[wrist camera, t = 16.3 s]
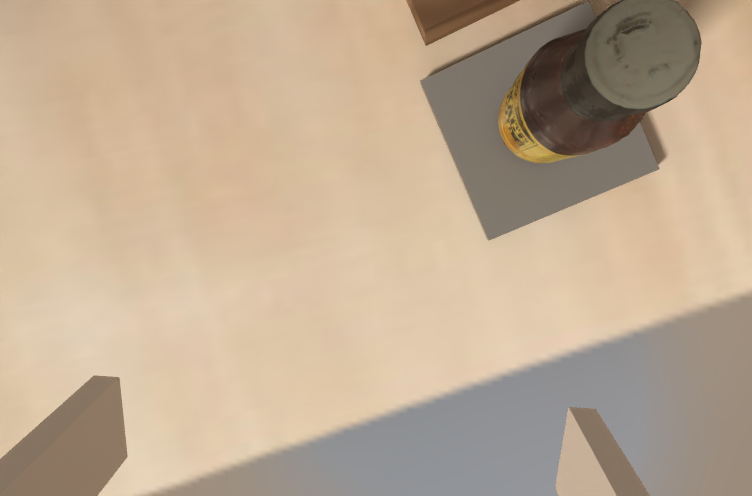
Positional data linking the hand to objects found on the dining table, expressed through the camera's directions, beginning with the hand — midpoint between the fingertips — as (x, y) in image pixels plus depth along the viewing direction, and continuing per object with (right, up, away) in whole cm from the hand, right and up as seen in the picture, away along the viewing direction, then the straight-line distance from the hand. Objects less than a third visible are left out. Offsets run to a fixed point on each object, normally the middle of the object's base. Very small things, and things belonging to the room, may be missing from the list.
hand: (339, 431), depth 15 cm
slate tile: (+13, +14, +24) cm, 31 cm away
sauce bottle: (+13, +14, +23) cm, 30 cm away
